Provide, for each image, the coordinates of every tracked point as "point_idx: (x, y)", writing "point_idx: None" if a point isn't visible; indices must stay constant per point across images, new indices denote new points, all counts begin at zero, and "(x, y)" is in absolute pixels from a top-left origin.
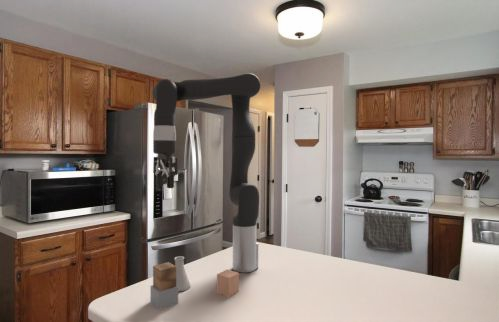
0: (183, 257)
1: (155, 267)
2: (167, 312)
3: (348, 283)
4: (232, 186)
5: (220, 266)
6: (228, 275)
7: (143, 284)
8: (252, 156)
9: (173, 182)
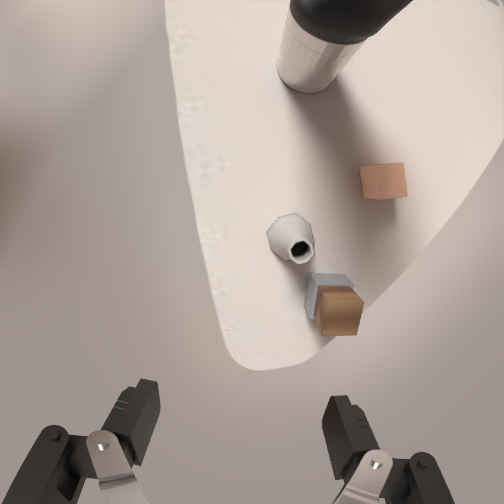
0: (306, 242)
1: (333, 335)
2: None
3: (456, 45)
4: None
5: (252, 94)
6: (399, 188)
7: (221, 282)
8: None
9: (367, 424)
